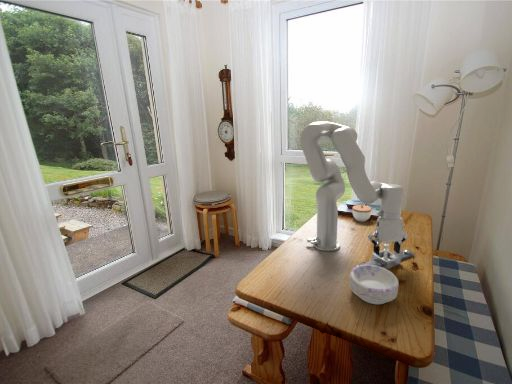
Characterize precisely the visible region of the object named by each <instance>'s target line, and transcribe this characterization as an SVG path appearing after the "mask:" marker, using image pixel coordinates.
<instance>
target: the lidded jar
mask: <svg viewBox="0 0 512 384" xmlns="http://www.w3.org/2000/svg"><path fill="white" fill-rule="evenodd" d="M372 209H373V208H372V207H371V206H368V205H366V204H365V205H364V204H356V205H353V206H352V216H353V218H354V219H355V220H356V221H358V222H361V223H363V222H367V221H368V220H369V219H370V217H371V214H372Z"/></svg>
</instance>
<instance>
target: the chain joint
mask: <svg viewBox="0 0 512 384" xmlns="http://www.w3.org/2000/svg"><path fill="white" fill-rule="evenodd" d="M384 252H385V251H384V249H383V250H380V251H379V255H377V254H376V253H375V252H373V253H371V255H370V256H371V259H370V260H369V261H366V262H365V261H364V262H363V263H359V264H357V265H355V266H354V268H355V267H356V266H360V265H375V266H379V267H382V268H385V269H387V270H389V269H390V268H393V267H396V266H399V265H401V262H402V261H404V260H407V259H408V258H412V257H414V256H415V254H416V253H415V252H412V251H411V250H410V249H408V248H405V249H400V252H399V254H398V253H396V252H395V251H394V252H391V251H390V250H389V251H388V252H387V258H388V259H390V260H389V261H386V260H384V259H382V258H383V256H384Z"/></svg>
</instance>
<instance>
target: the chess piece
mask: <svg viewBox="0 0 512 384" xmlns="http://www.w3.org/2000/svg"><path fill="white" fill-rule="evenodd" d="M383 247H384V249H383V250H384V251H385V252H384V256H383V257H382V259H384V260H386V261H389V260H390V259H388V258H387V252H388V251H389V252H390V250H389V247H390V245H389V242H384V244H383Z"/></svg>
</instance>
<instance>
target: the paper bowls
mask: <svg viewBox="0 0 512 384" xmlns="http://www.w3.org/2000/svg"><path fill="white" fill-rule="evenodd" d="M355 266H356V265H355ZM355 266H354V267H353V268H352V269H351V270H350V275H349V286H350V289H351V291H352V292H353V293H354V295H356V296H357V297H359V299H361V300H362V301H364V302H366V303H368V304H372V305H383V304H385V303H390V302H392V301H394V300H395V299H396V298H397V296H398V291H399V283H400V282H399V278H397V276H396V275H395V274H394V273H393V272H392V271H391V270H389V269H386V268H384V267H379V266H375V265H360V266H356V267H355Z"/></svg>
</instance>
